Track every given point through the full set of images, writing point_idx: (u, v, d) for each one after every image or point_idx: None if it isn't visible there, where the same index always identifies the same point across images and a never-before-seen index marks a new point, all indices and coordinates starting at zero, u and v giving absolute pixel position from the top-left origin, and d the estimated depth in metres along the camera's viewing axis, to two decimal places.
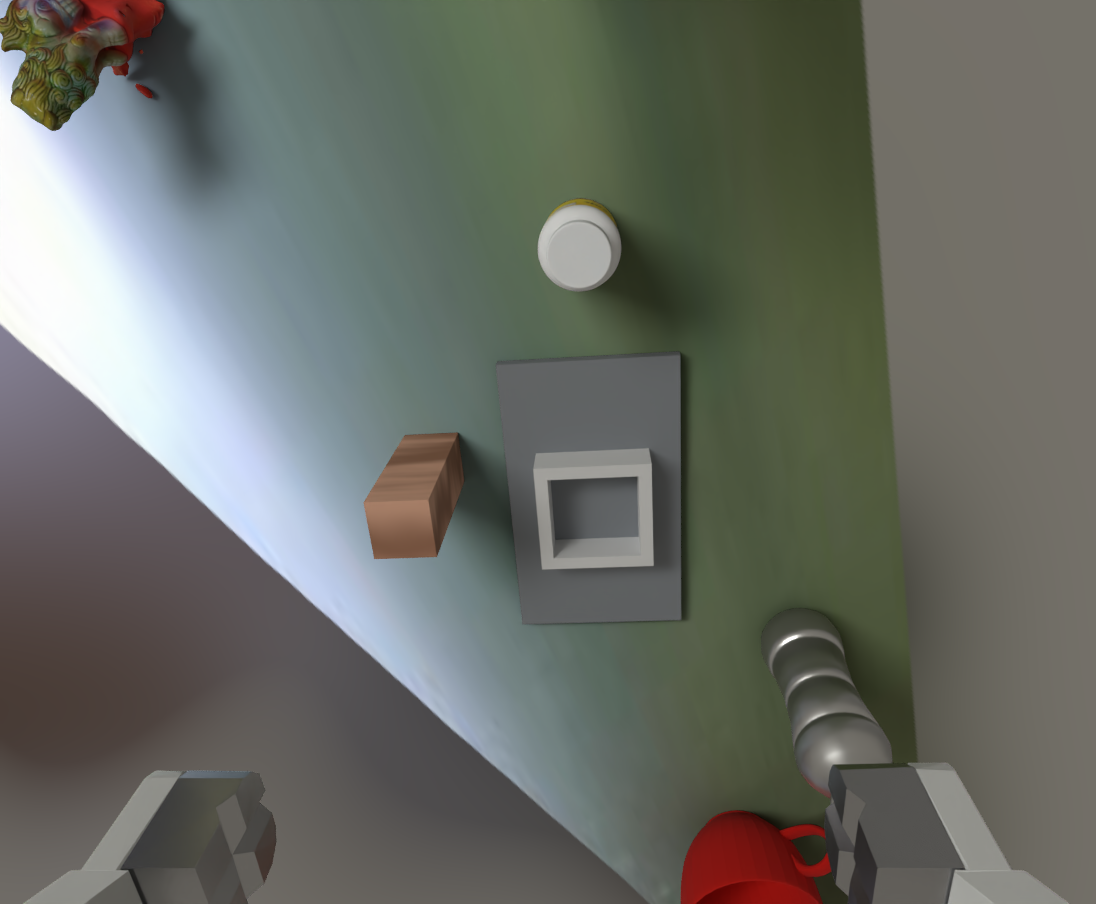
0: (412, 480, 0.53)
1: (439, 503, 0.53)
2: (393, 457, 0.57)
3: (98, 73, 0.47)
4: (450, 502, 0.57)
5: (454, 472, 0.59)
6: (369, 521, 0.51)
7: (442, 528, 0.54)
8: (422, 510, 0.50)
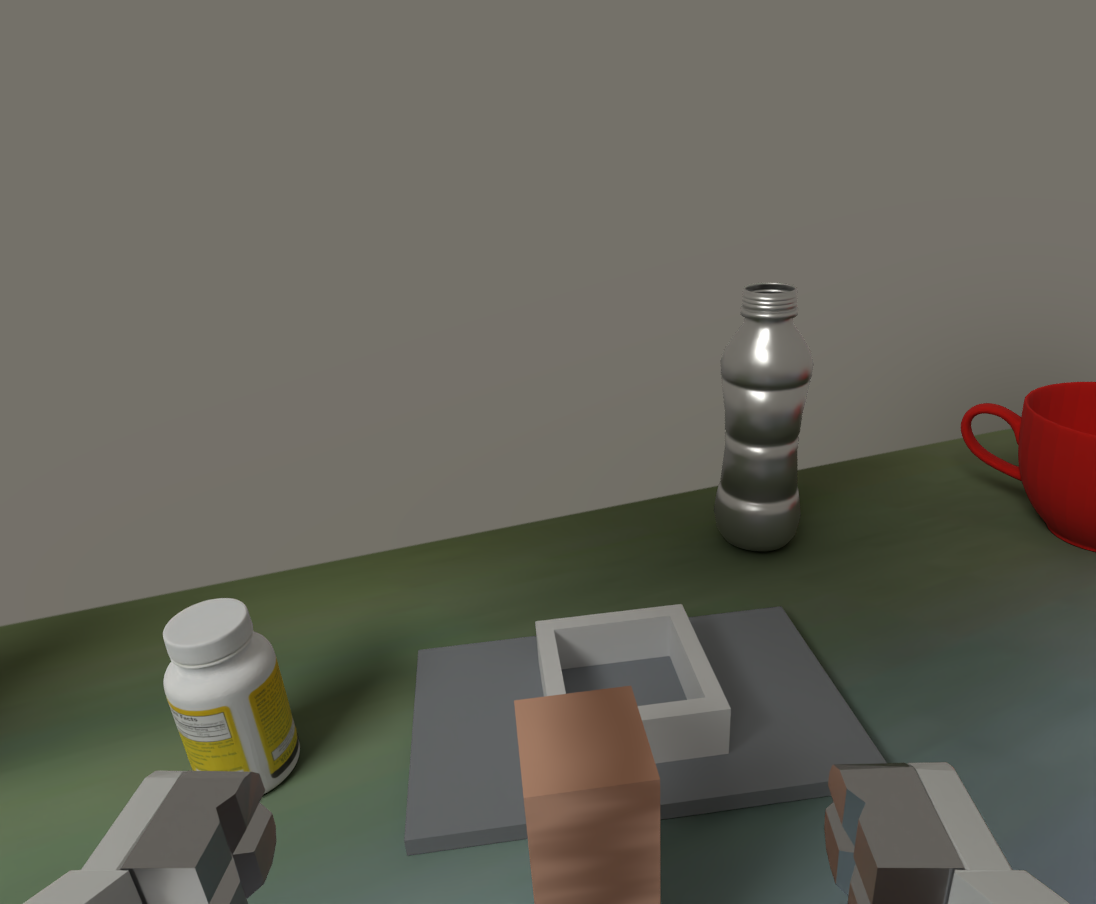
0: None
1: None
2: None
3: None
4: None
5: None
6: (569, 787, 0.24)
7: None
8: (536, 707, 0.27)
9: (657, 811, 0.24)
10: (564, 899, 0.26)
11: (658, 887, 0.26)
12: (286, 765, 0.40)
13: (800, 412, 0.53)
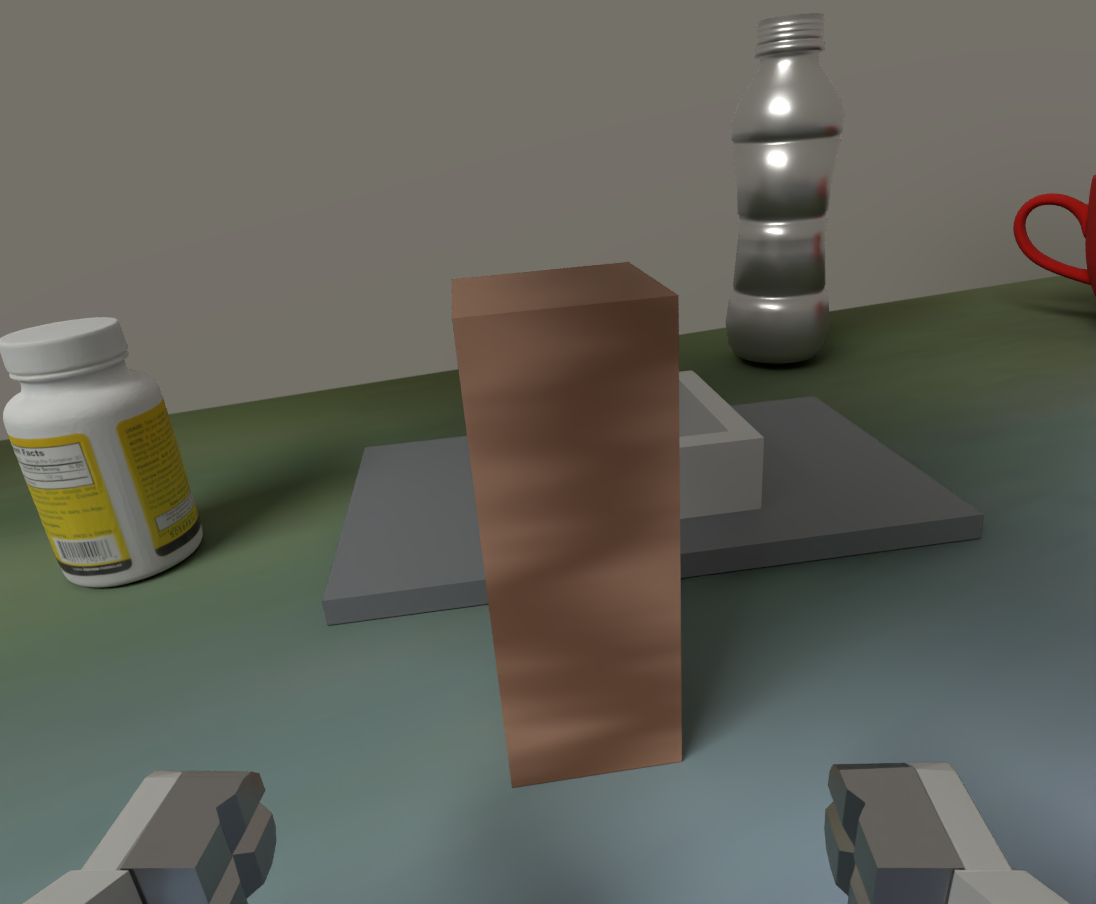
0: None
1: None
2: None
3: None
4: None
5: None
6: (528, 309, 0.14)
7: None
8: (484, 279, 0.18)
9: (674, 366, 0.15)
10: (529, 541, 0.16)
11: (677, 527, 0.17)
12: (178, 544, 0.30)
13: (829, 177, 0.44)
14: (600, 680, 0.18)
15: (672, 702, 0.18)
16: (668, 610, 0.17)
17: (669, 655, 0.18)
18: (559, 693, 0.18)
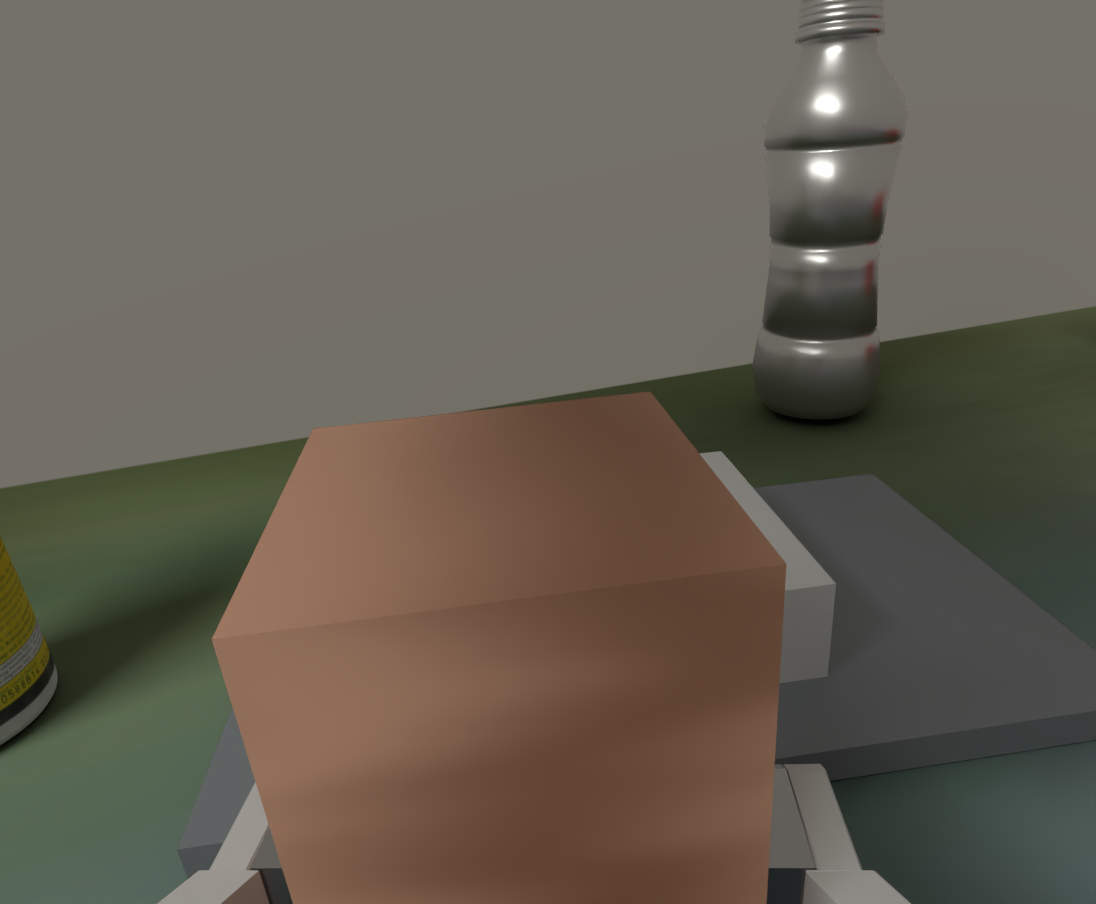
0: None
1: None
2: None
3: None
4: None
5: None
6: (413, 600, 0.06)
7: None
8: (371, 435, 0.09)
9: (767, 707, 0.06)
10: None
11: None
12: (8, 714, 0.22)
13: (887, 193, 0.35)
14: None
15: None
16: None
17: None
18: None
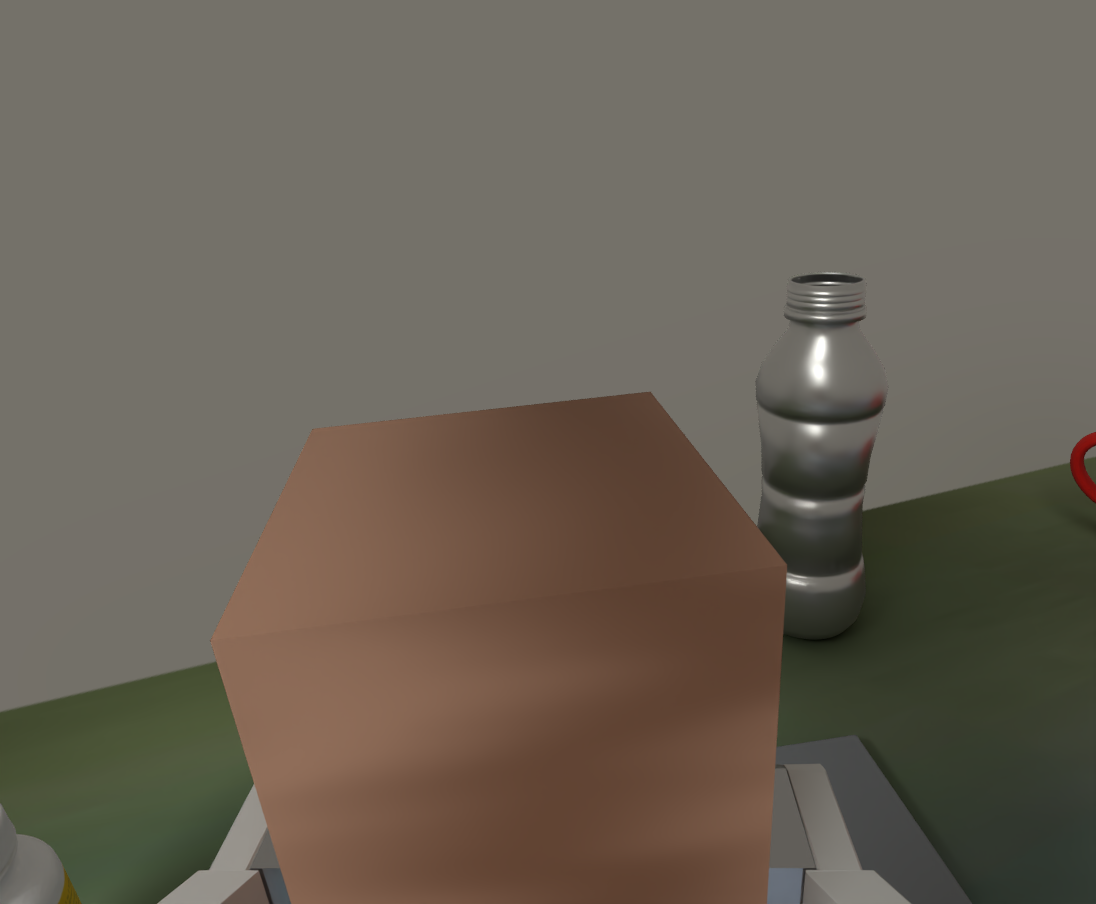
0: None
1: None
2: None
3: None
4: None
5: None
6: (413, 601, 0.06)
7: None
8: (371, 436, 0.09)
9: (768, 708, 0.06)
10: None
11: None
12: None
13: (870, 452, 0.38)
14: None
15: None
16: None
17: None
18: None
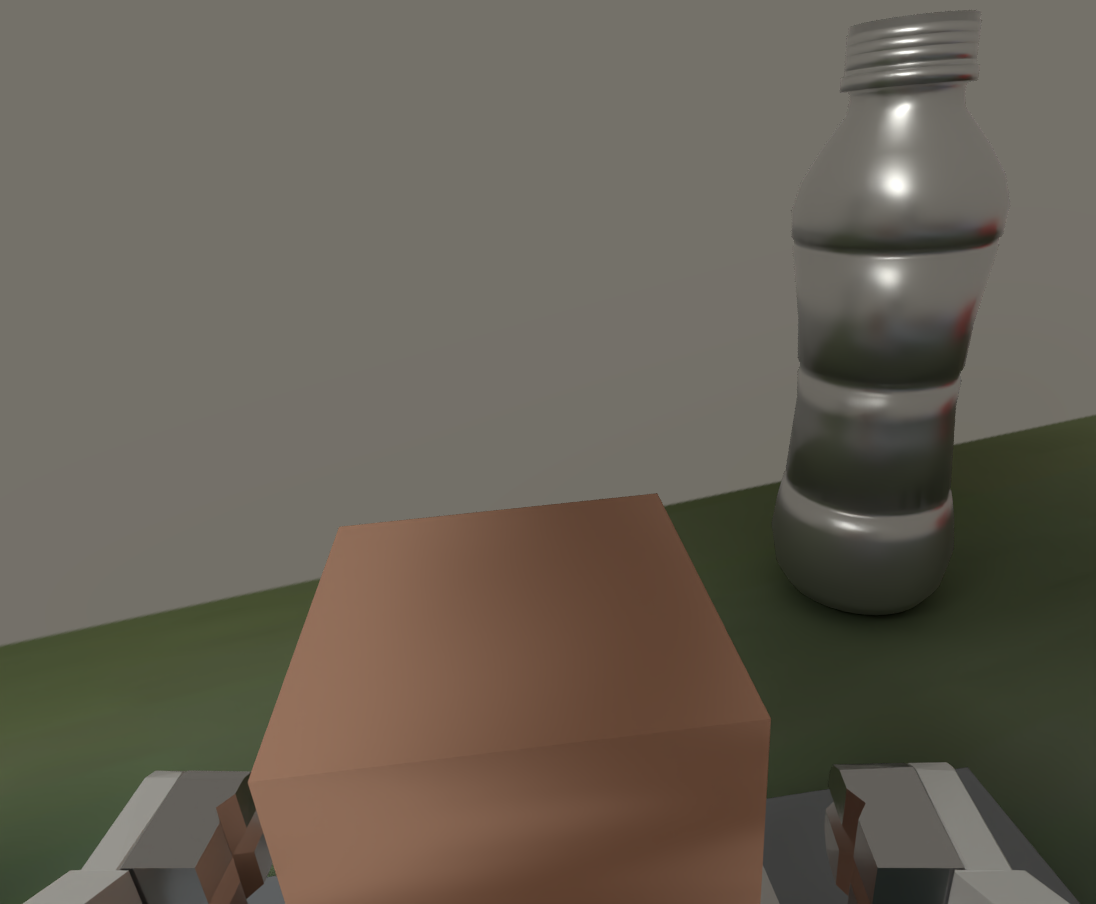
0: None
1: None
2: None
3: None
4: None
5: None
6: (429, 746, 0.06)
7: None
8: (393, 539, 0.10)
9: (754, 839, 0.07)
10: None
11: None
12: None
13: (975, 312, 0.24)
14: None
15: None
16: None
17: None
18: None
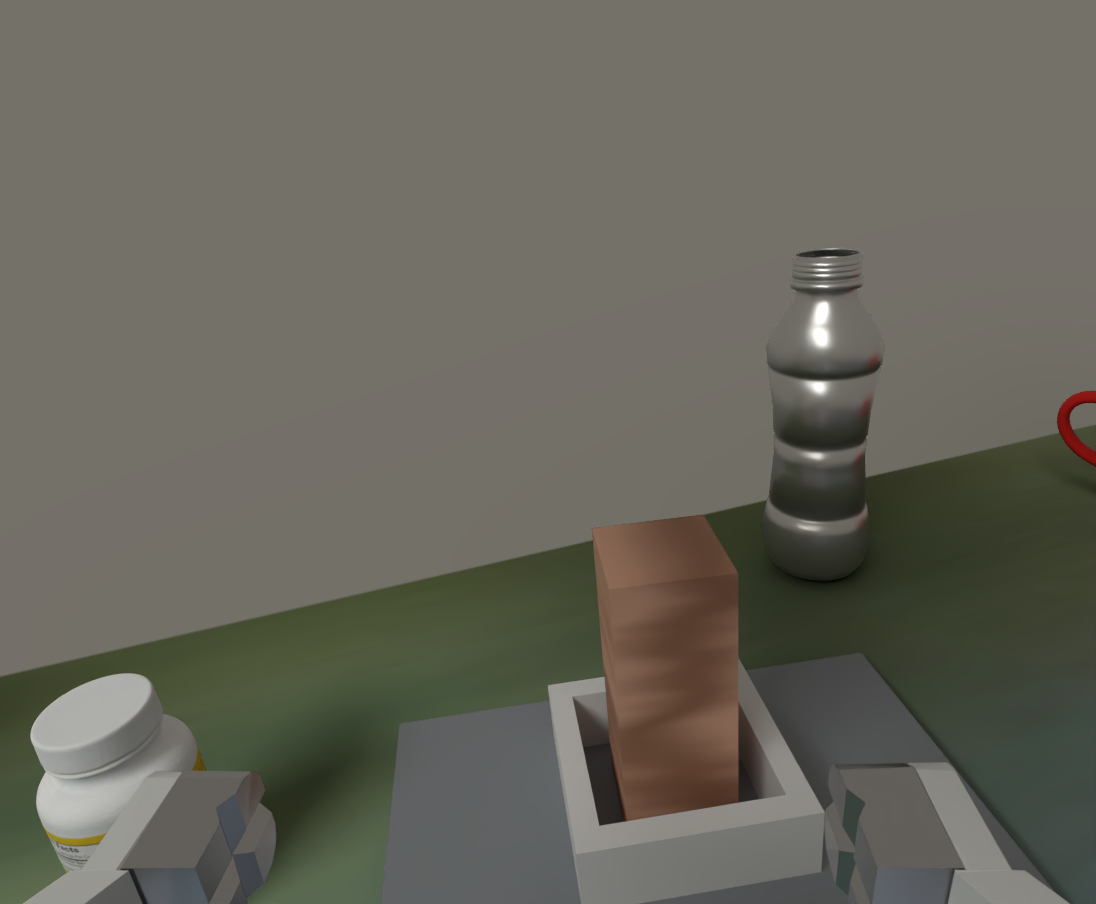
0: (604, 623, 0.29)
1: None
2: (621, 757, 0.28)
3: None
4: None
5: None
6: (651, 581, 0.25)
7: None
8: (614, 531, 0.29)
9: (735, 609, 0.26)
10: (646, 704, 0.27)
11: (736, 694, 0.27)
12: None
13: (869, 406, 0.42)
14: (687, 783, 0.29)
15: (732, 796, 0.29)
16: (730, 742, 0.28)
17: (730, 768, 0.28)
18: (661, 790, 0.29)
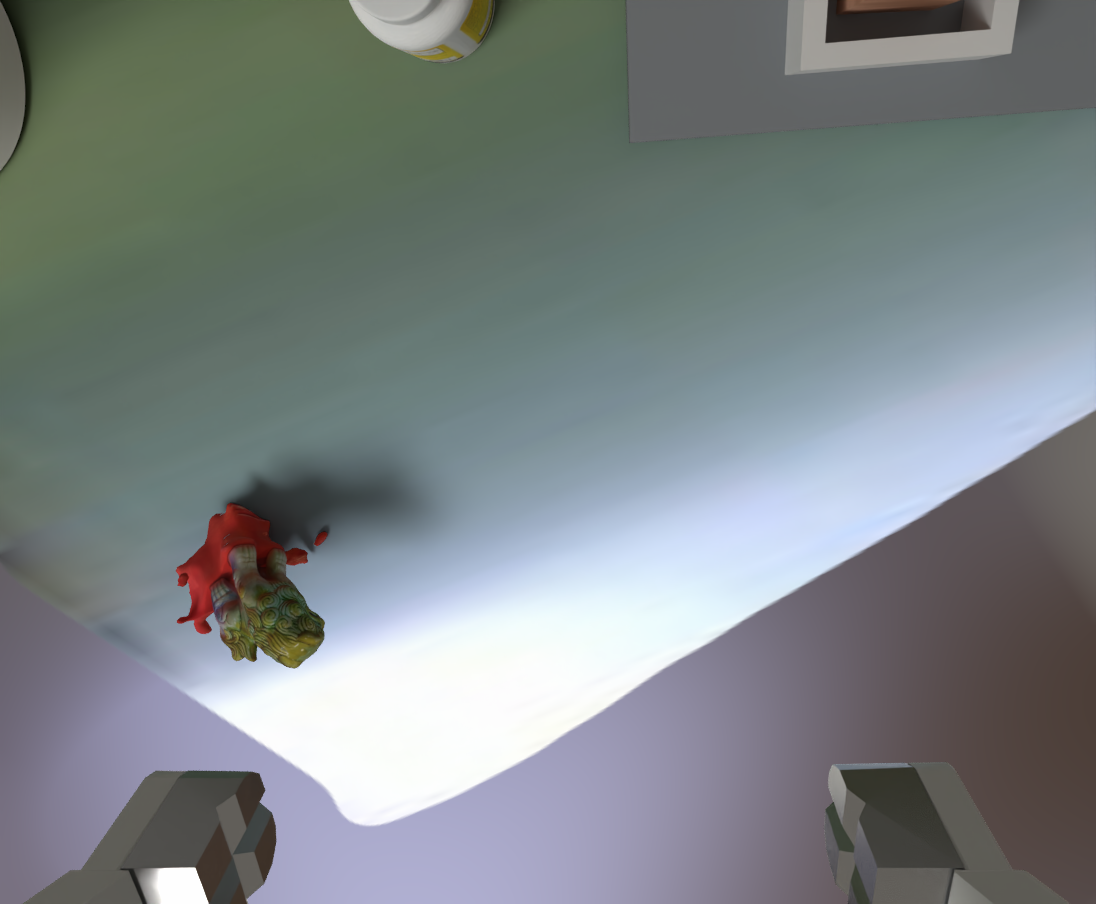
0: None
1: None
2: None
3: (284, 579, 0.45)
4: None
5: None
6: None
7: None
8: None
9: None
10: None
11: None
12: (489, 25, 0.36)
13: None
14: (913, 2, 0.32)
15: (946, 3, 0.33)
16: None
17: None
18: (887, 4, 0.32)
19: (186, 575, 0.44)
